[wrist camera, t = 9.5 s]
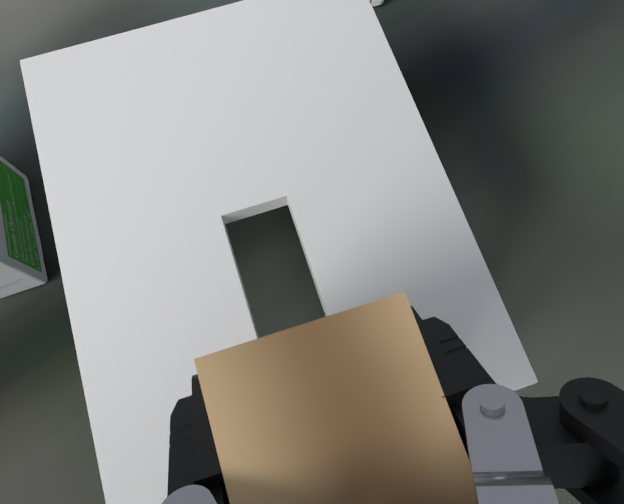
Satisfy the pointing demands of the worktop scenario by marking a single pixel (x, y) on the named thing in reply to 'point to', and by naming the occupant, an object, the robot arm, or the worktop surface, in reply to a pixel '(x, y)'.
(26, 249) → the skincare box
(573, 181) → the worktop surface
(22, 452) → the worktop surface
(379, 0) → the container set
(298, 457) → the tan block with stem
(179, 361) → the white slotted table
